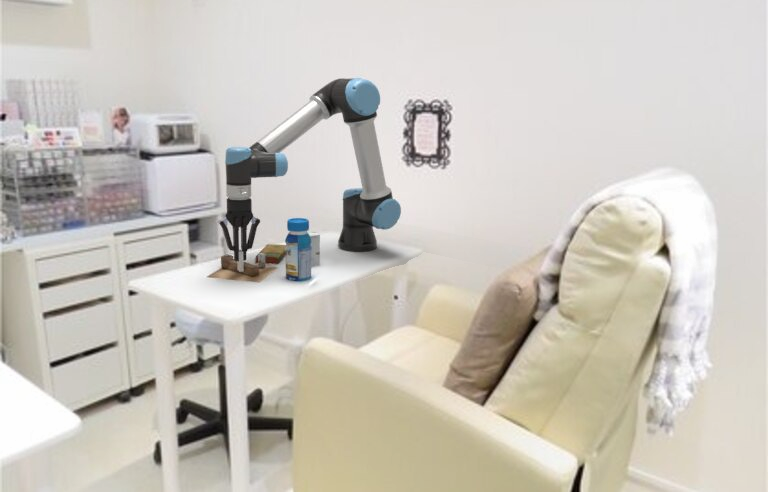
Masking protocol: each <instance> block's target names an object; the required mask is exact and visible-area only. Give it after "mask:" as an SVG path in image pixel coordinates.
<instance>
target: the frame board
mask: <svg viewBox="0 0 768 492" xmlns="http://www.w3.org/2000/svg"><path fill="white" fill-rule="evenodd" d="M277 269H279V267H277V266H269V265H268V266H267V265H266V268H265V269H259V275H256V276H250V275H246V274H243V273H240V272H236V271H233V270H230V269H224V268H221V267H220V268H218V269H217V270H214V272H212V273H210V274H209V275H207V276H206V278H211V279H220V280H230V281H231V280H232V281H242V282H243V281H244V282H251V283H252V282H253V283H261V282H262V281H263V280H264V279H266V278H267V277H268V276H270V275H271V274H273V272H275V271H276V270H277Z"/></svg>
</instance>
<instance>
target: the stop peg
mask: <svg viewBox="0 0 768 492" xmlns="http://www.w3.org/2000/svg"><path fill="white" fill-rule="evenodd" d="M257 254H258V263H257V266H259V269H265V268H266V266H267V264H266V258H265V253H259V252H258V253H257Z"/></svg>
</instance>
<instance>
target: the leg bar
mask: <svg viewBox="0 0 768 492" xmlns="http://www.w3.org/2000/svg"><path fill="white" fill-rule="evenodd" d="M220 266H221V267H220V268H224V269H230V270H233V271H236V272H239V271H238V270H237V261H235V260H234V255H230V254H226V253H225V254H224V255H222V256H220ZM243 268H244V271H243V272H240V273H243V274H246V275H250V276H256V275H259V266H258V264H257V265H256V264H253V263H249V262H246V261H243Z"/></svg>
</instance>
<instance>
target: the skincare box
mask: <svg viewBox="0 0 768 492" xmlns="http://www.w3.org/2000/svg"><path fill="white" fill-rule="evenodd" d="M308 234H309V236H310V238H311V244H310V245H311V247H312V252H311V268H312V267H318V266H319V267H320V266H321V265H320V264H321V263H320V260H321V255H320V254H321V247H320V246H321V234H320V233H317V232H313V231H312V232H308Z"/></svg>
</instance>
